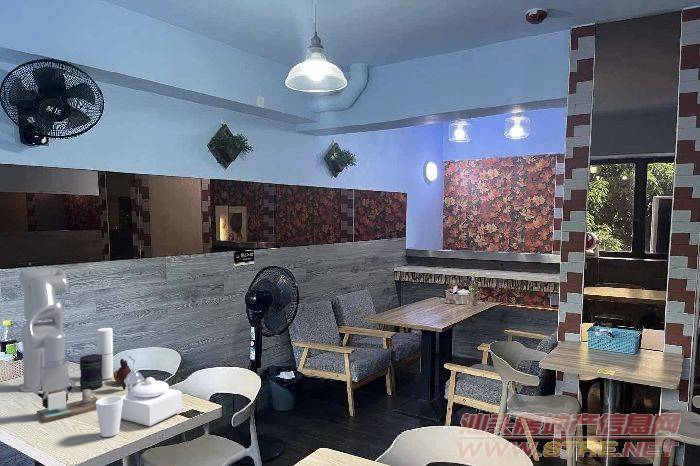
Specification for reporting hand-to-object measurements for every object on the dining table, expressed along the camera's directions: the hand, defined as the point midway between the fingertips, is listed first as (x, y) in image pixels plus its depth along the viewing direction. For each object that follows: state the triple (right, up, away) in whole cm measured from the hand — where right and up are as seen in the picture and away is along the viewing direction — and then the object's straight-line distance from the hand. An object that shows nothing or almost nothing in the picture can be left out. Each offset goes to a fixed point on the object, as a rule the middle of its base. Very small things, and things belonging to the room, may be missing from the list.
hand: (55, 404), depth 204 cm
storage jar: (-2, -3, +33) cm, 33 cm away
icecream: (+15, -4, +30) cm, 33 cm away
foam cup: (+31, -6, -16) cm, 35 cm away
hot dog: (+9, -3, +40) cm, 41 cm away
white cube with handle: (0, -1, 0) cm, 1 cm away
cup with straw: (+26, -4, +16) cm, 31 cm away
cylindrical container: (-3, -3, +48) cm, 48 cm away
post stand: (+4, -4, +5) cm, 7 cm away
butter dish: (+39, -5, +2) cm, 40 cm away
